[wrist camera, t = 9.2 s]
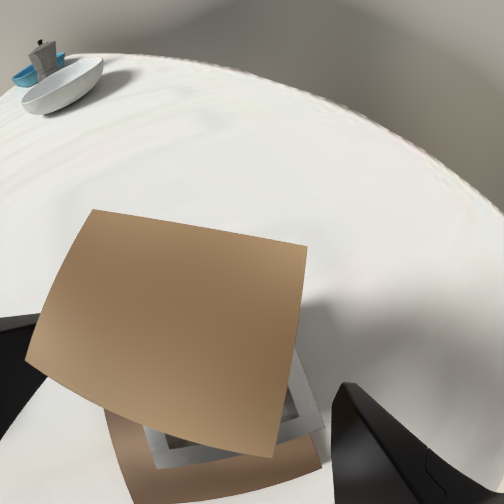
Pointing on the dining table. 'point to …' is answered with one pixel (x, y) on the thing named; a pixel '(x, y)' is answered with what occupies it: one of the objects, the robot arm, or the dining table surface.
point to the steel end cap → (189, 453)
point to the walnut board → (203, 468)
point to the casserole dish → (33, 73)
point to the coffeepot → (44, 59)
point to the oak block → (176, 328)
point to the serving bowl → (63, 87)
